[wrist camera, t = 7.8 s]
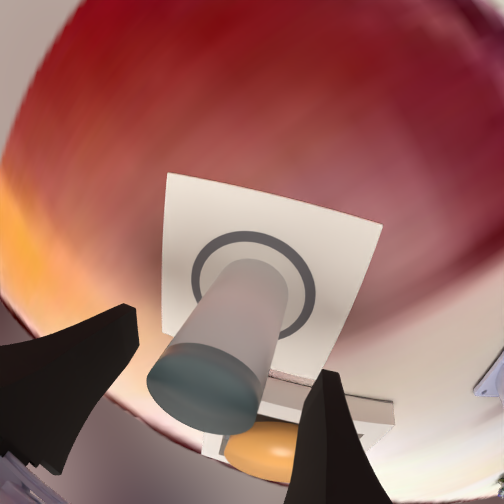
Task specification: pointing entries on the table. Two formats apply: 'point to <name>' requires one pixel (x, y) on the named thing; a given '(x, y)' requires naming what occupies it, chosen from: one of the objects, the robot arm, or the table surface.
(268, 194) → the paper sheet
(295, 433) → the button
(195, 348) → the white cylindrical piece
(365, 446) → the button box
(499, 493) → the passion flower
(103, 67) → the table surface
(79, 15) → the table surface
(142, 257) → the table surface
